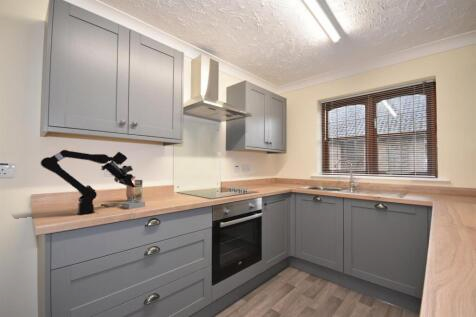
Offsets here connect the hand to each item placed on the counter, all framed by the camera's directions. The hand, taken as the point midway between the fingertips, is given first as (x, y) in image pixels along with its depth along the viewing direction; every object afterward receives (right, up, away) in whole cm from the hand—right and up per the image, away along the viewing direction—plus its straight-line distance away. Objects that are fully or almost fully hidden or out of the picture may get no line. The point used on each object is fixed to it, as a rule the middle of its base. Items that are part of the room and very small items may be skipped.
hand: (132, 186), depth 147 cm
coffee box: (-11, -15, +27) cm, 33 cm away
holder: (+3, -13, -5) cm, 15 cm away
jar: (-1, -6, -1) cm, 6 cm away
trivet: (-15, -14, +4) cm, 21 cm away
